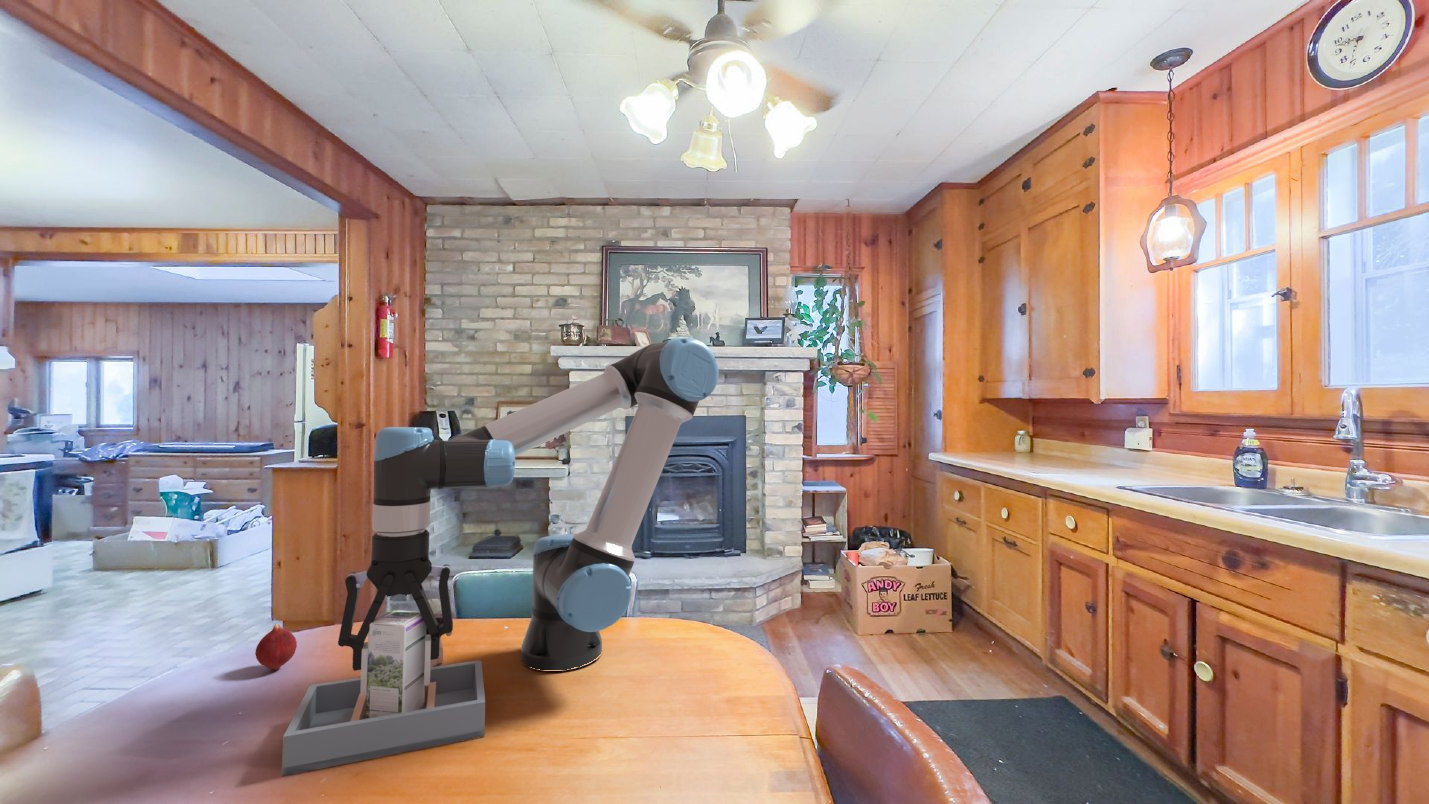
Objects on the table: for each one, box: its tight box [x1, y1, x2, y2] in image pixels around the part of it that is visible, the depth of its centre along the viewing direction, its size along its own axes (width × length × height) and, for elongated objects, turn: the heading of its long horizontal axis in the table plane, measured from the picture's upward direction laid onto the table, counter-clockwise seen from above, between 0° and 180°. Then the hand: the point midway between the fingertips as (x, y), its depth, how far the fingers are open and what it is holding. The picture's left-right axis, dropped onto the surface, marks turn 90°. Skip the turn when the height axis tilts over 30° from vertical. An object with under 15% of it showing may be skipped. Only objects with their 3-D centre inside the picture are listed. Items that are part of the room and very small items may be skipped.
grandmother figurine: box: [426, 598, 453, 667], centre depth 104 cm, size 8×4×13 cm, turn 164°
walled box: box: [281, 659, 486, 777], centre depth 85 cm, size 24×15×5 cm, turn 114°
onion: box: [254, 623, 298, 671], centre depth 102 cm, size 6×6×8 cm
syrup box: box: [366, 609, 426, 719], centre depth 85 cm, size 6×6×14 cm
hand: (396, 685), depth 85 cm, fingers closed on syrup box, 7 cm apart
